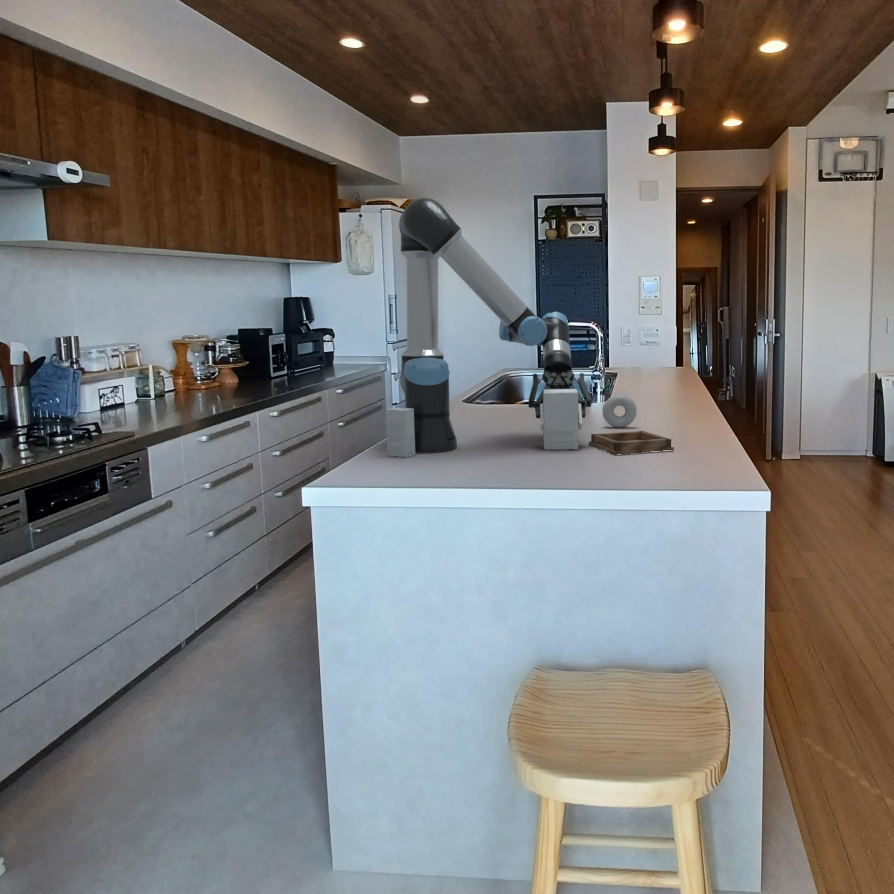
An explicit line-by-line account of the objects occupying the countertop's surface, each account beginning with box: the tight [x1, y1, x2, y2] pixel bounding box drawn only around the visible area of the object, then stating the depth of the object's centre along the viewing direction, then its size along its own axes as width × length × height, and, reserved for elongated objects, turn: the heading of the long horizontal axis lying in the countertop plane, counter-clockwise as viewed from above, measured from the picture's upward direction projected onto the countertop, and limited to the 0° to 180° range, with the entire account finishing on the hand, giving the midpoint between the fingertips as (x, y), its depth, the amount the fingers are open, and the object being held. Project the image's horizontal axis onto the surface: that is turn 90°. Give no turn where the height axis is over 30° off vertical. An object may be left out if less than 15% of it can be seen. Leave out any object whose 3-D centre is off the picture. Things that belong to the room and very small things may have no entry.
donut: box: [602, 394, 638, 429], centre depth 256 cm, size 10×4×10 cm, turn 79°
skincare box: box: [385, 407, 416, 458], centre depth 217 cm, size 6×4×12 cm
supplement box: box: [542, 388, 579, 451], centre depth 225 cm, size 9×9×15 cm
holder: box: [588, 430, 675, 456], centre depth 222 cm, size 16×16×3 cm
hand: (561, 426), depth 222 cm, fingers closed on supplement box, 9 cm apart
